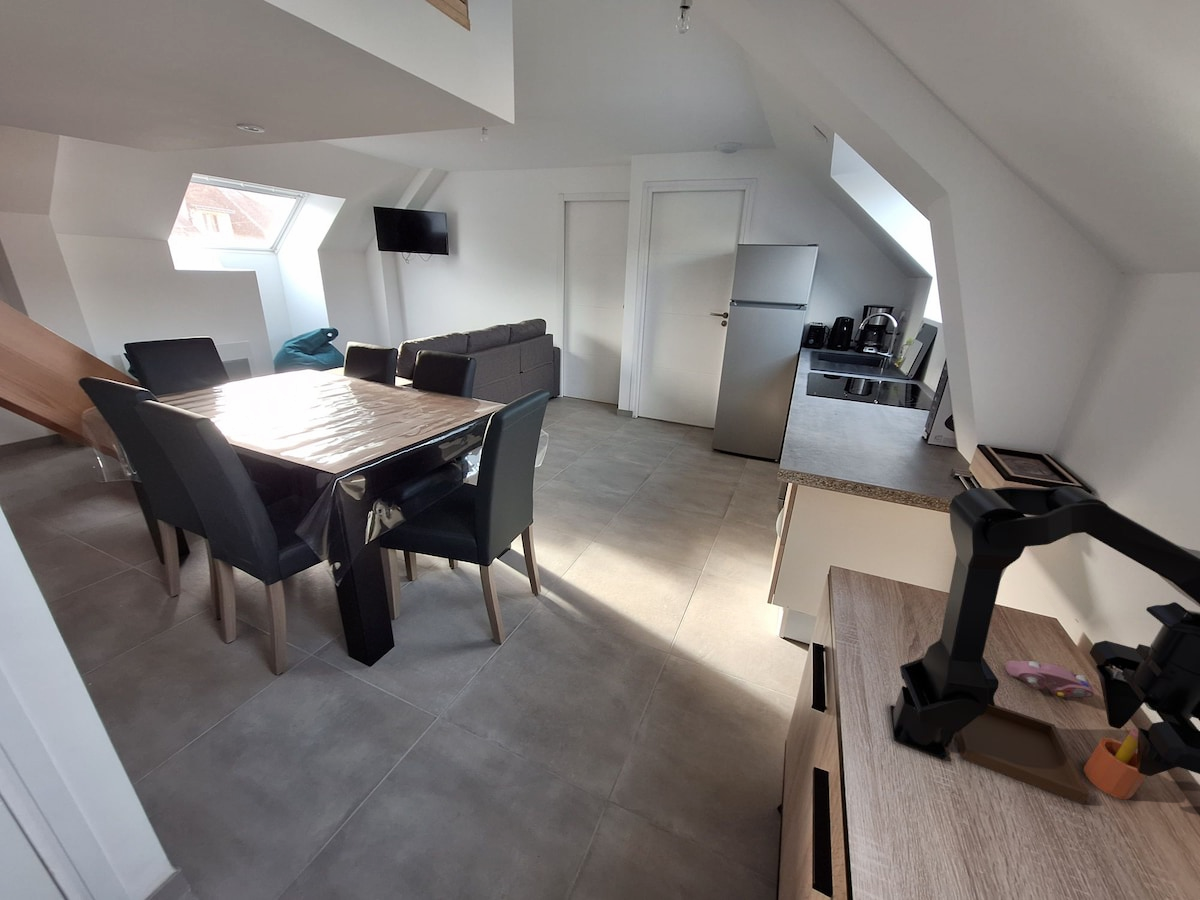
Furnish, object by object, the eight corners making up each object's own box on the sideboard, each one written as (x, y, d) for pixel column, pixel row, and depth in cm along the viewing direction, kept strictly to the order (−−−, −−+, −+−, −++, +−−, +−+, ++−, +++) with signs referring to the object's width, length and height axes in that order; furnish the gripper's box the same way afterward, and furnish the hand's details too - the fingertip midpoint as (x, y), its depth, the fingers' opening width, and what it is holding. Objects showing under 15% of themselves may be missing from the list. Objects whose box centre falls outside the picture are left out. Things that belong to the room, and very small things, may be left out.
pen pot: (1092, 789, 61) (1110, 761, 60) (1077, 759, 65) (1093, 732, 63) (1138, 806, 60) (1158, 778, 58) (1120, 774, 64) (1138, 747, 62)
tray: (961, 758, 65) (966, 748, 64) (945, 698, 74) (949, 689, 74) (1083, 804, 60) (1089, 794, 59) (1049, 733, 69) (1054, 724, 68)
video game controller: (1005, 687, 79) (1025, 673, 74) (1001, 662, 81) (1020, 647, 76) (1079, 710, 75) (1106, 697, 70) (1073, 683, 77) (1098, 668, 73)
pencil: (1104, 781, 62) (1134, 734, 59) (1100, 773, 63) (1129, 727, 60) (1116, 785, 62) (1147, 739, 58) (1112, 777, 63) (1142, 731, 59)
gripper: (1368, 757, 43) (1276, 856, 49) (1226, 632, 59) (1168, 718, 65) (1203, 709, 48) (1135, 805, 54) (1112, 605, 64) (1067, 687, 69)
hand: (1127, 748), depth 60 cm, fingers open, 7 cm apart
